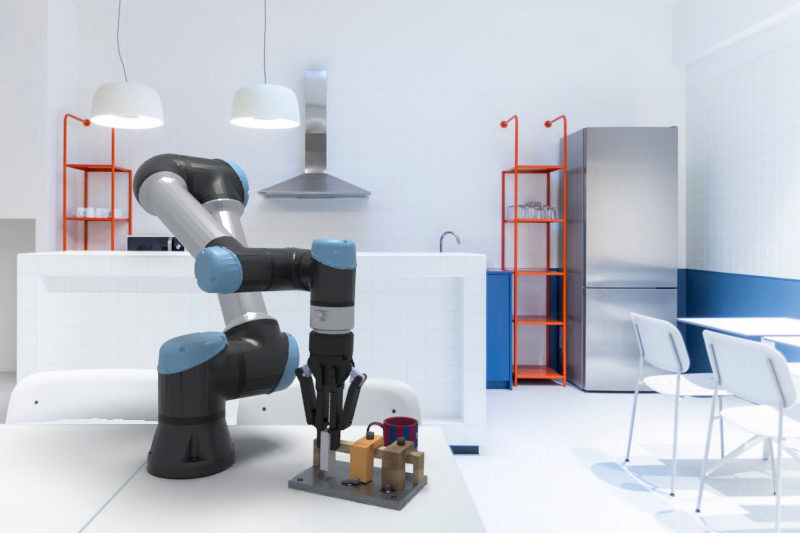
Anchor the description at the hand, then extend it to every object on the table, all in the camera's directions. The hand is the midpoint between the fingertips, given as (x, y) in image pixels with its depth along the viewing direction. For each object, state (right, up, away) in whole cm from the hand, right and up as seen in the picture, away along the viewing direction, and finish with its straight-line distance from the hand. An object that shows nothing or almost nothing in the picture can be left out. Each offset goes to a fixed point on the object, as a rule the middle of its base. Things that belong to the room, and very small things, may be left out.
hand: (327, 467), depth 103 cm
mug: (+11, -2, +13) cm, 17 cm away
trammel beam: (+6, -1, -1) cm, 6 cm away
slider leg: (+7, -1, -1) cm, 7 cm away
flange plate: (+5, -2, -2) cm, 6 cm away
